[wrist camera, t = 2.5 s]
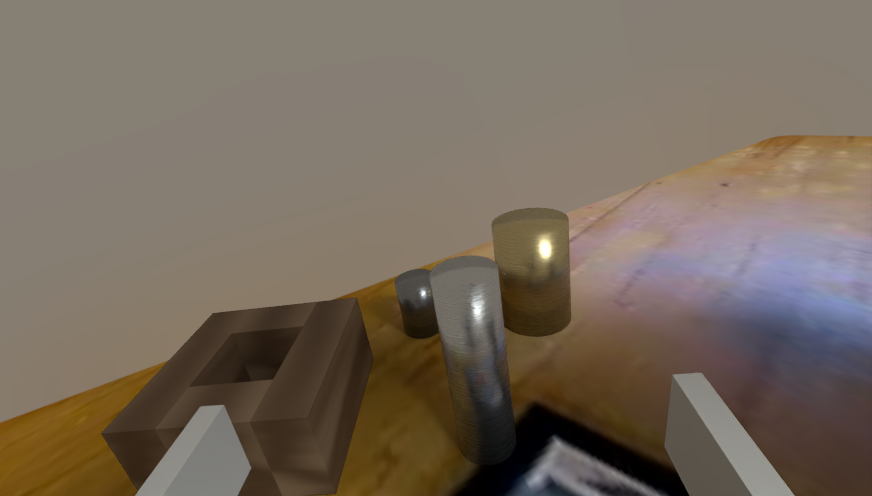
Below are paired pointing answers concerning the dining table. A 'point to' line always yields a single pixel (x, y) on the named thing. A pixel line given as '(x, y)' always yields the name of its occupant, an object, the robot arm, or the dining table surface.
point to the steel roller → (475, 356)
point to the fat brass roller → (533, 270)
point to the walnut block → (260, 395)
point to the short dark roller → (417, 303)
